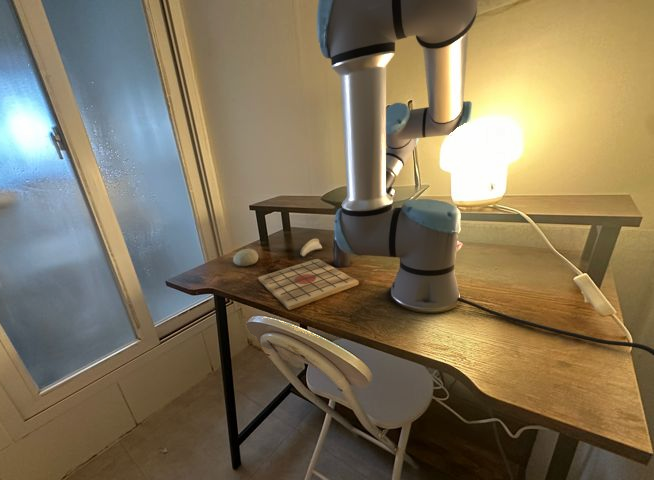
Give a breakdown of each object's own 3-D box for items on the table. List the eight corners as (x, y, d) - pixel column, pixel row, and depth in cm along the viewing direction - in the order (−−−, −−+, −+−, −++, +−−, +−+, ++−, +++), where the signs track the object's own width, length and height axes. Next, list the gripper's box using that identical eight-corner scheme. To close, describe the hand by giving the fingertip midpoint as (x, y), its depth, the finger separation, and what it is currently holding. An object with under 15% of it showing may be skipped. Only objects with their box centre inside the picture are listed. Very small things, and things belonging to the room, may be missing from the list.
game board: (358, 284, 85) (358, 280, 84) (289, 310, 78) (288, 306, 77) (317, 261, 103) (317, 258, 103) (258, 280, 96) (258, 276, 96)
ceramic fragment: (317, 243, 119) (317, 233, 118) (329, 244, 116) (328, 234, 115) (298, 256, 110) (297, 247, 108) (311, 258, 107) (310, 248, 105)
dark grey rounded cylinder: (353, 263, 98) (352, 231, 93) (340, 268, 96) (338, 235, 91) (343, 259, 102) (342, 227, 97) (330, 263, 100) (328, 231, 96)
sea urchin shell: (226, 260, 110) (236, 241, 111) (241, 269, 116) (250, 250, 117) (241, 265, 104) (251, 245, 105) (256, 274, 109) (265, 254, 110)
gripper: (424, 183, 88) (387, 246, 89) (362, 179, 108) (332, 230, 109) (413, 167, 84) (374, 233, 84) (351, 166, 104) (319, 219, 104)
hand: (350, 232), depth 97 cm, fingers open, 13 cm apart
